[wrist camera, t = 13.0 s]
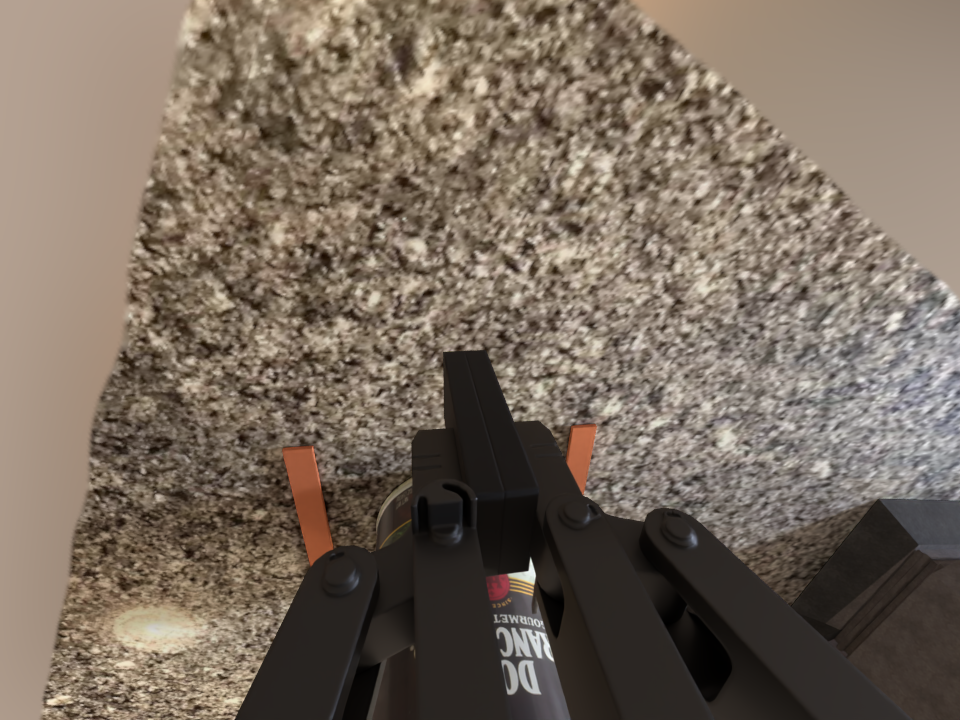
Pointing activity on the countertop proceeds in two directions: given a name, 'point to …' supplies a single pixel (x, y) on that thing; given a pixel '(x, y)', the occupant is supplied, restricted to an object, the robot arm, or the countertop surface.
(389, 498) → the coffee can
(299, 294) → the countertop surface
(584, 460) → the strips
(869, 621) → the machine
